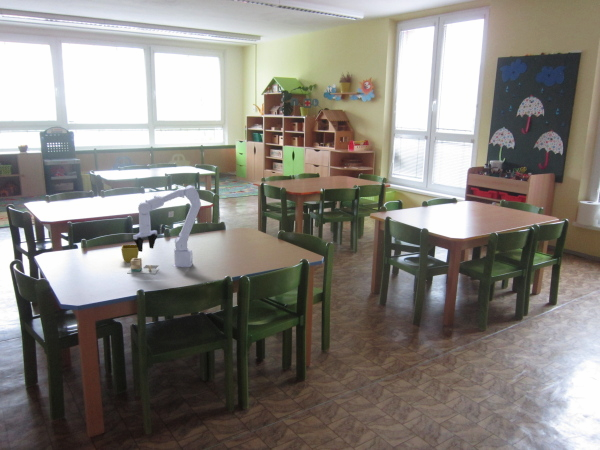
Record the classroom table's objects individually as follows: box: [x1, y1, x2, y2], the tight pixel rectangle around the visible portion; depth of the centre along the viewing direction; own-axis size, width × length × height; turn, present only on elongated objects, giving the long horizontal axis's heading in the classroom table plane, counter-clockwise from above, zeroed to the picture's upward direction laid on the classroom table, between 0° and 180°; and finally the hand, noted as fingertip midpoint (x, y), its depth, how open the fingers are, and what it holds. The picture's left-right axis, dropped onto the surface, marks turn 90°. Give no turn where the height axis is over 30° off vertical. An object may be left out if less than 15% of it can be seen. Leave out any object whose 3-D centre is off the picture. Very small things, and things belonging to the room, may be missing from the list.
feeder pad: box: [142, 264, 160, 269], centre depth 259 cm, size 7×6×1 cm
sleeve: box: [130, 257, 143, 272], centre depth 251 cm, size 4×4×6 cm
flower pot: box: [120, 243, 140, 264], centre depth 268 cm, size 9×9×9 cm
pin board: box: [127, 264, 160, 275], centre depth 251 cm, size 14×8×4 cm, turn 90°
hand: (146, 249), depth 258 cm, fingers open, 7 cm apart
